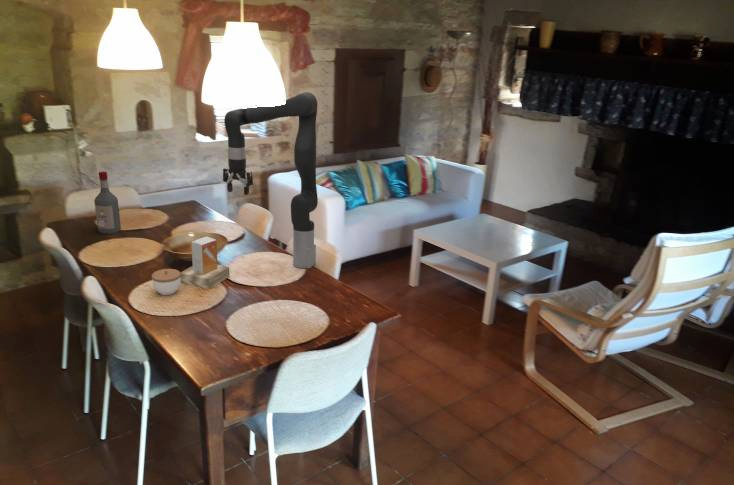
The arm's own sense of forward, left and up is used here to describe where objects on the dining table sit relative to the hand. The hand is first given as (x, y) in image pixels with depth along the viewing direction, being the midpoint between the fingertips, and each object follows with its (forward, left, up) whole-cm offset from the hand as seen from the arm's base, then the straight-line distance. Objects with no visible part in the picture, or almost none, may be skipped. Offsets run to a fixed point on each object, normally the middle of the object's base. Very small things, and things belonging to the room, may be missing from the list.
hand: (238, 193), depth 255 cm
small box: (-3, +28, -26) cm, 38 cm away
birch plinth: (-3, +28, -31) cm, 42 cm away
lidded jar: (+2, +45, -30) cm, 54 cm away
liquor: (+75, +6, -30) cm, 81 cm away
